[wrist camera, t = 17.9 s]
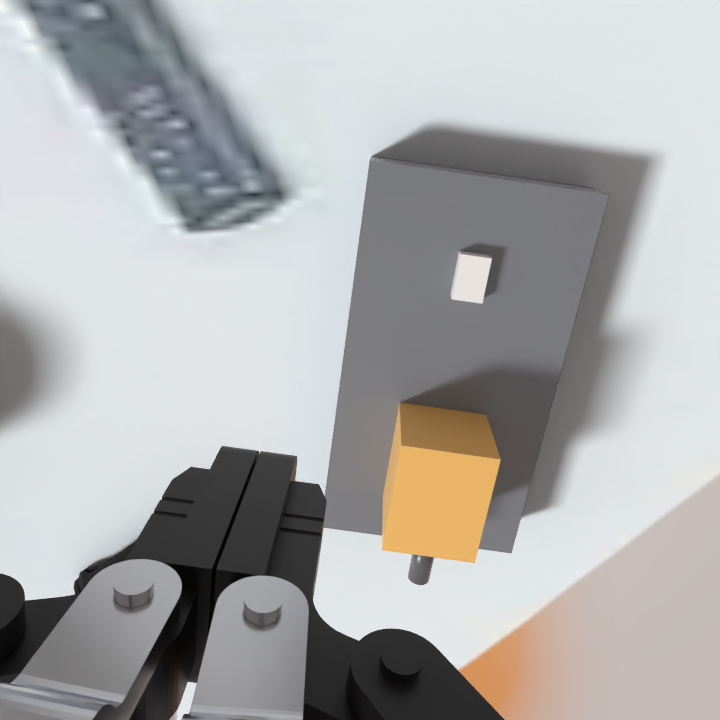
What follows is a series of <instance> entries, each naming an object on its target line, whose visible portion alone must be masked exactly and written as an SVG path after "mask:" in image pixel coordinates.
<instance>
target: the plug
mask: <svg viewBox="0 0 720 720" xmlns="http://www.w3.org/2000/svg"><path fill="white" fill-rule="evenodd" d="M500 461H501V459H500V456H499V453H498V449H497V446H496V443H495V440H494V437H493V434H492V431H491V428H490V425H489V422H488V419H487V415H484V414H477V413H470V412H463V411H456V410H449V409H442V408H435V407H428V406H421V405H414V404H407V403H399V409H398V414H397V420H396V425H395V431H394V437H393V442H392V448H391V453H390V459H389V465H388V470H387V476H386V482H385V487H384V493H383V515H382V550H386V551H393V552H400V553H407V554H412V559H411V564H410V569H409V573H408V578H409V580H410V581H411V582H413V583H415V584H417V585H424V584H426V583H428V581H429V577H430V573H431V568H432V564H433V559H434V557H435V558H443V559H450V560H457V561H464V562H471V563H475V560H476V556H477V552H478V548H479V544H480V540H481V536H482V532H483V528H484V524H485V520H486V516H487V512H488V508H489V504H490V500H491V496H492V492H493V488H494V484H495V481H496V477H497V473H498V469H499V465H500Z"/></svg>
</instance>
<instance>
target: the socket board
mask: <svg viewBox="0 0 720 720" xmlns="http://www.w3.org/2000/svg"><path fill="white" fill-rule="evenodd" d="M608 197H609V195H608V194H605V193H603V192H600V191H597V190H595V189H592V188H587V187H580V186H573V185H566V184H559V183H552V182H545V181H538V180H531V179H524V178H517V177H510V176H504V175H497V174H490V173H483V172H476V171H469V170H462V169H455V168H448V167H441V166H434V165H427V164H420V163H413V162H406V161H399V160H392V159H385V158H378V157H371V159H370V163H369V170H368V178H367V185H366V193H365V200H364V208H363V215H362V223H361V230H360V237H359V245H358V252H357V260H356V267H355V275H354V282H353V290H352V297H351V305H350V312H349V320H348V327H347V335H346V342H345V349H344V357H343V364H342V372H341V379H340V387H339V394H338V402H337V409H336V417H335V424H334V432H333V439H332V447H331V454H330V462H329V469H328V476H327V484H326V491H325V498H326V500H327V504H326V511H325V519H324V526H323V527H324V528H331V529H339V530H346V531H353V532H361V533H368V534H375V535H382V515H383V493H384V487H385V482H386V476H387V470H388V465H389V459H390V453H391V448H392V442H393V437H394V431H395V425H396V420H397V414H398V409H399V403H407V404H414V405H421V406H428V407H435V408H442V409H449V410H456V411H463V412H470V413H477V414H484V415H487V419H488V422H489V425H490V428H491V431H492V434H493V437H494V440H495V443H496V446H497V449H498V453H499V456H500V459H501V461H500V465H499V469H498V473H497V477H496V481H495V484H494V488H493V492H492V496H491V500H490V504H489V508H488V512H487V516H486V520H485V524H484V528H483V532H482V536H481V540H480V544H479V548H478V549H484V550H492V551H499V552H506V553H512V549H513V545H514V542H515V538H516V534H517V531H518V527H519V523H520V520H521V516H522V512H523V509H524V505H525V501H526V498H527V494H528V490H529V486H530V483H531V479H532V475H533V472H534V468H535V464H536V461H537V457H538V453H539V450H540V446H541V442H542V439H543V435H544V431H545V428H546V424H547V420H548V417H549V413H550V409H551V406H552V402H553V398H554V395H555V391H556V387H557V384H558V380H559V376H560V373H561V369H562V365H563V362H564V358H565V354H566V351H567V347H568V343H569V340H570V336H571V332H572V329H573V325H574V321H575V318H576V314H577V310H578V307H579V303H580V299H581V296H582V292H583V288H584V285H585V281H586V277H587V274H588V270H589V266H590V263H591V259H592V255H593V252H594V248H595V244H596V241H597V237H598V233H599V230H600V226H601V222H602V219H603V215H604V211H605V208H606V204H607V200H608Z"/></svg>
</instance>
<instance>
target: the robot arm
mask: <svg viewBox="0 0 720 720" xmlns="http://www.w3.org/2000/svg"><path fill="white" fill-rule="evenodd" d="M296 467H297V456H292V455H285V454H277V453H270V452H263V451H261V452H260V454H259V451H255V450H248V449H240V448H233V447H226V446H222V447H221V448H220V450H219V452H218V454H217V456H216V458H215V460H214V462H213V464H212V466H211V468H210V470H209V469H202V468H195V467H190V468H189V469H187V470H186V471H184V472H183V473H182V474H180V475H179V476H177V477H176V478H174V479H173V480H172V481H171V483H170V484H169V486H168V488H167V489H166V491H165V493H164V495H163V496H162V500H160V501H159V503H158V505H157V507H156V508H155V510H154V514H152V515H151V517H150V518H149V520H148V522H147V524H146V525H145V527H144V529H143V530H142V532H141V534H140V536H139V537H138V539H137V541H136V542H135V544H134V546H133V547H132V549H131V551H130V553H129V554H128V556H127V558H126V559H125V561H122V562H119V563H116V564H113V565H111V566H109V567H107V568H105V569H103V570H102V571H100V572H99V573H98V574H96V575H95V576H94V577H93V578H92V579H91V580H90V581H89V583H88V584H87V585H86V587H85V588H84V589H83V591H82V592H81V593H79V594H75V595H71V596H65V597H57V598H47V599H38V600H28V601H25V595H24V590H23V588H22V586H21V584H20V583H19V582H18V581H17V580H15V579H14V578H12V577H10V576H7V575H4V574H0V720H177V709H178V707H179V704H180V702H181V699H182V696H183V693H184V691H185V688H186V685H187V682H195V683H197V685H196V689H195V693H194V697H193V701H192V705H191V709H190V712H189V714H184V715H183V717H182V720H504V719H503V718H502V717H501V716H500V715H499V713H498V712H497V711H496V710H495V709H494V708H493V707H492V706H491V705H490V704H489V703H488V702H487V701H486V700H485V699H484V698H483V697H482V696H481V695H480V693H479V692H478V691H477V690H476V689H475V688H474V687H473V686H472V685H471V684H470V683H469V682H468V681H467V680H466V679H465V678H464V677H463V675H462V674H461V673H460V672H459V671H458V670H457V669H456V668H455V667H454V666H453V665H452V664H451V663H450V662H449V661H448V660H447V659H446V658H445V656H444V655H443V654H442V653H441V652H440V651H439V650H438V649H437V648H436V647H435V646H434V645H433V644H432V643H430V642H429V641H428V640H426V639H425V638H423V637H421V636H419V635H417V634H415V633H412V632H410V631H406V630H401V629H382V630H377V631H374V632H372V633H369V634H368V635H366V636H364V637H363V638H362V639H361V640H360V641H358V640H355V639H353V638H351V637H348V636H346V635H344V634H342V633H340V632H338V631H336V630H335V629H333V628H332V627H330V626H329V625H328V624H327V623H326V622H325V621H324V620H323V619H322V618H321V617H320V616H319V614H318V612H317V611H316V609H315V606H314V603H313V595H314V589H315V582H316V576H317V570H318V563H319V556H320V548H321V541H322V534H323V526H324V519H325V511H326V504H327V500H326V498H325V496H324V494H323V492H322V490H321V488H320V486H319V484H312V483H305V482H297V481H295V476H296Z"/></svg>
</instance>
